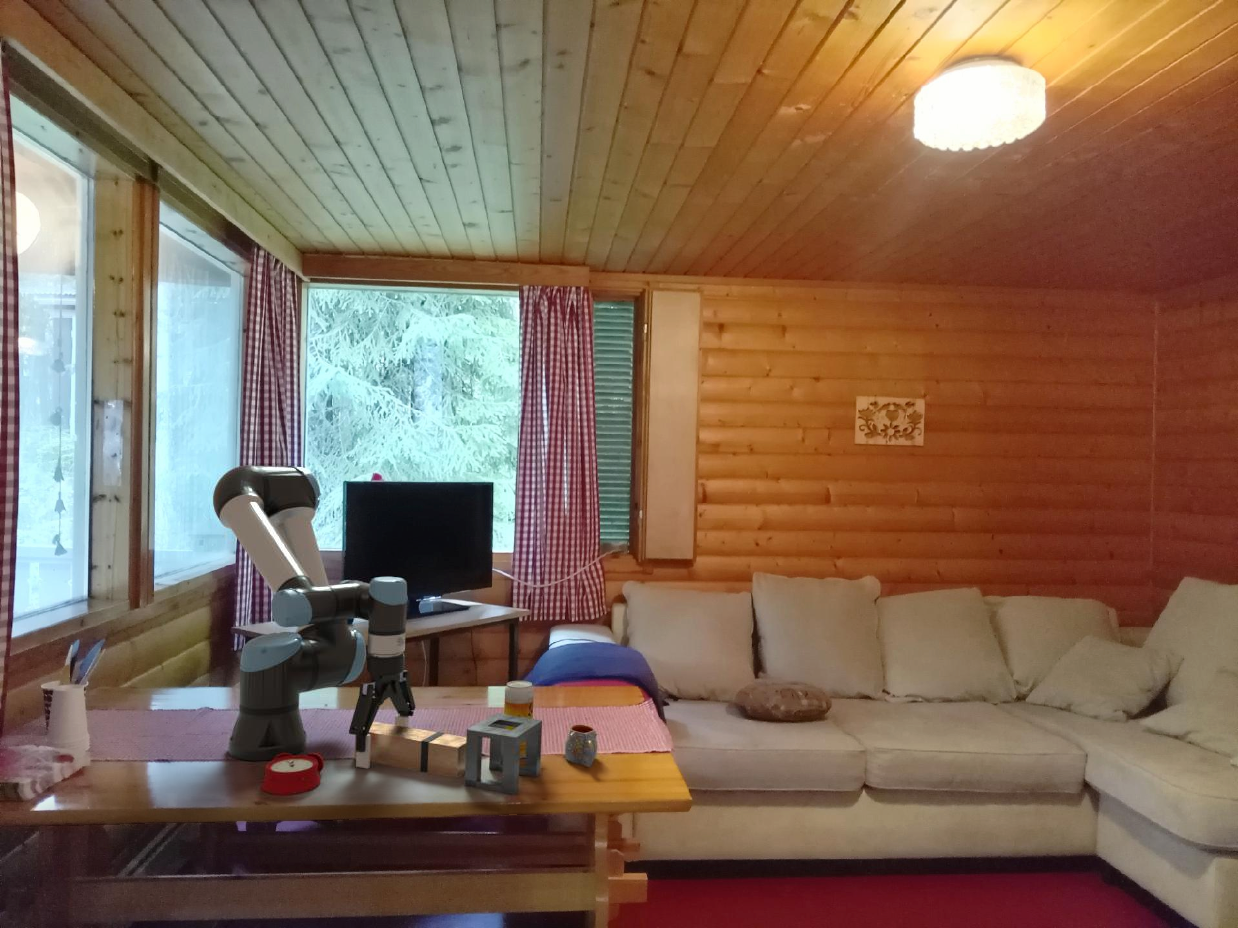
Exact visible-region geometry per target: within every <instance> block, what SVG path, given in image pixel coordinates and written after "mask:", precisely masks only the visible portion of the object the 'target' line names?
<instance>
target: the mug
mask: <svg viewBox="0 0 1238 928" xmlns="http://www.w3.org/2000/svg"><path fill="white" fill-rule="evenodd" d="M597 735H598V734H597V731H596V730H595V728H594V727H592V726H590V725H587V724H574V725H572V726H570V728H569V731H568V734H567V735H566V740H565V745H564V757H565V758H566V760H567V761H569V762H570V763H572V764H576V765H582V766H584V767H586V768H590V767H591V766H592V764H593V762H594V761H595V760H596V757H597V753H598V741H597Z"/></svg>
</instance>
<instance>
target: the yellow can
mask: <svg viewBox="0 0 1238 928" xmlns="http://www.w3.org/2000/svg"><path fill="white" fill-rule="evenodd" d="M534 692H535V689H534V686H533V683H532V682H531V681H526V680H512V681H509V682H507V683H506V687H505V688H504V706H503V708H504V709H503V714H505V715H511V716H518V717H524V718H530V719H534V715H533V714H534ZM515 728H517V727H512V726H506V729H507V730H514V729H515ZM522 758H524V759H525V758H526V740H525V741H524V742H522V743H521V744H520V757H519V759H522Z"/></svg>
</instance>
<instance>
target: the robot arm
mask: <svg viewBox="0 0 1238 928" xmlns="http://www.w3.org/2000/svg"><path fill="white" fill-rule="evenodd" d="M212 495H213V497H212V505H213V506H212V507H213V510H214V512H215V515H216V517H217V518H218V520H219V522H220V523H221V525H222V526H223V527H225V528H227V529H230V530H231V531H232V532H233V534H234V535H235V537H236V538H237V540H238V541H239V543H240V544H241V546H242V548H243V549H244V551H245V553H246V554H247V555H248V557H249V558H250V560H251V562H252V563H253V564H254V567H255V568H256V569H257V571H258V572H259V574H260V575H261V577H262V578H263V580H264V581H265V583H266V585H267V586H268V587H269V589H270V590H271V592H272V594H273V597H272V598H271V599H272V600H271V604H270V609H271V613H272V618H273V620H274V622H275V624H277V625H278V626H279V627H282V628H296V630H295V631H281V632H273V633H271V632H270V633H267V634H262V635H260V636H257V637H254V638H252V639H249V640H248V641H247V642H246V643H245V644H244V645H243V647H242V649H241V656H240V662H239V669H240V671H239V673H240V675H239V676H240V678H239V701H238V702H239V705H238V706H239V709H238V714H237V718H236V720H235V723H234V726H233V730H232V733H231V735H230V737H229V739H228V749H227V750H228V751H227V752H228V754H229V756H231V757H232V758H235V759H238V760H242V761H272V760H274V758H275V757H276V756H277V755H279V754H282V753H289V754H291V755H292V756H295V755H296V754H298V753H300V752H302V751H304V750H305V749H306V747H307V732H306V730H305V729H304V723H303V720H302V716H301V713H300V694H302V693H306V692H312V691H317V690H321V689H326V688H327V689H328V688H331V687H340V686H341V685H344V684H347V683H351V682H353V681H355V680H356V679H358V678H359V676H360V675H361V674H362V671H363V669H364V665H365V664H366V672H367V673H368V674H369V675H370V677H371V678H370V681H369V683H364V682H361V683H360V685H359V693H358V698H357V700H356V704H355V709H354V712H353V715H352V718H351V722H350V725H349V729H348V734H350V735H354V736H356V752H357V753H356V759H355V761H356V762H355V767H356V768H362V769H369V768H370V766H371V764H370V763H371V762H370V745H371V735H369V734H368V733H369V730H370V728H371V726H372V723H373V722H375V721H374V720H375V718H376V716H377V713H378V711H379V709H380V707H381V705H383V704H384V702H385V701H386V700H387V699H390V701H391V703H392V706H393V707H394V708H395V711H396V713H397V714H398V715H395V717H394V719H395V720H394V725H396V726H402V727H408V728H409V717H413V716H414V713H415V712H414V711H415V710H416V703H415V699H414V696H413V690H412V687H411V683H410V672H409V670H405V661H406V660H405V659H406V658H405V657H406V656H405V653H404V651H405V650H406V630H407V629H406V628H407V626H406V625H407V609H408V608H407V607H408V600H409V599H408V598H409V597H408V594H407V593H408V586H407V585H408V583H407V581H406V580H405V579H404V578H402V577H395V576H379V577H374V578H372V579H371V580H370V581H369V583H368V582H363V581H360V580H358V579H357V580H355V579H354V580H353V579H352V580H351V579H349V580H348V579H346V580H345V579H344V580H342V581H340V582H338V583H336V584H330V583H329V580H328V577H327V573H326V570H325V566H324V563H323V559H322V556H321V551H320V549H319V546H318V542H317V538H316V535H315V530H314V528H313V525H312V520H313V519H314V518H315V517H316V511H317V510H318V507H319V505H320V502H321V498H320V496H321V488H320V484H319V482H318V480H317V478H316V475H314V474H313V473H312V472H311V471H310V470H309V469H307V468H305V467H302V466H293V465H280V466H279V465H278V466H277V465H276V466H275V465H252V464H251V465H248V464H247V465H246V464H245V465H241V466H236V467H233V468H231V469H230V470H228V471H227V472H225V473H224V474H223V475H222V476H221V478H219V480H218V481H217V483H216V485H215V488H214V490H213V494H212ZM351 619H360V620H363V621H364V620H365V621H368V625H367V626H368V630H367V645H366V641H365V639H364V637H363V635H362V633H360V632H359V631H358V630H356V629H353V628H350V629H349V624H348V620H351ZM367 652H368V655H367Z"/></svg>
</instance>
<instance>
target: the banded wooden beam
mask: <svg viewBox="0 0 1238 928" xmlns="http://www.w3.org/2000/svg"><path fill="white" fill-rule="evenodd" d="M368 734H369V735H371V745H370V763H375V764H380V765H381V764H382V765H386V766H391V767H396V768H402V769H407V770H412V771H418V772H423V773H429V774H432V775H433V774H434V775H438V776H439V775H440V776H444V777H445V776H446V777H450V778H455V779H458V778H459V777H461V776H462V775H465V760H466V736H460V735H454V734H449V733H445V732H441V731H433V730H432V731H431V730H426V729H425V730H424V729H419V728H414V727H409V726H408V727H402V726H396V725H395V724H389V723H383V722H379V721H378V722H377V721H373V723H372V726H371V728H370V730H369V733H368ZM354 736H355V741H354V759H355V760H356V753H357V752H356V735H354Z"/></svg>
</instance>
